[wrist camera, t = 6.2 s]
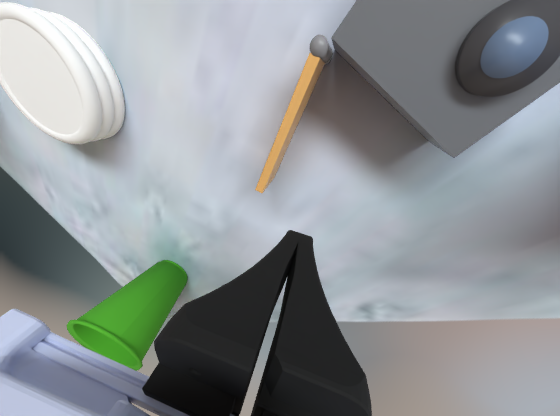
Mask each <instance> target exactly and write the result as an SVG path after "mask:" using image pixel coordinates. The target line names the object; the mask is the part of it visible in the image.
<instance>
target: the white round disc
mask: <svg viewBox="0 0 560 416" xmlns="http://www.w3.org/2000/svg"><path fill="white" fill-rule="evenodd" d="M0 84H1V86H2V87H3V89H4V90H5V92H6V93H7V95H8V96H9V98H10V99H11V100H12V102H13V103H14V104H15V105H16V106H17V108H18V109H19V110H20V111H21V112H22V113H23V114H24V115H25V116H26V117H27V118H28V119H29V120H30V121H31V122H32V123H33V124H34V125H35V126H37V127H38V128H39V129H41V130H42V131H43V132H45V133H46V134H48V135H50V136H52V137H53V138H55V139H58V140H60V141H62V142H65V143H70V144H85V143H87V142H90V141H98V140H100V139H107V138H110V137H112V136H114V135H115V134H116V133H117V132H118V131H119V130H120V129H121V127H122V125H123V122H124V116H125V103H124V96H123V92H122V88H121V85H120V82H119V79H118V77H117V74H116V72H115V70H114V68H113V66H112V64H111V62H110V61H109V59H108V57H107V56H106V54H105V53H104V51H103V50H102V49H101V47H100V46H99V45H98V43H97V42H96V41H95V40H94V39H93V38H92V37H91V36H90V35H89V34H88V33H87V32H86V31H85V30H84V29H83V28H82V27H80V26H79V25H78V24H76V23H75V22H73V21H71V20H70V19H68V18H66V17H64V16H62V15H59V14H57V13H53V12H45V11H43V10H41V9H37V8H31V7H25V6H23V5H20V4H16V3H8V2H5V3H0Z"/></svg>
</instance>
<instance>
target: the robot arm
mask: <svg viewBox="0 0 560 416" xmlns="http://www.w3.org/2000/svg"><path fill="white" fill-rule="evenodd" d="M287 276H288V277H287ZM286 278H287V282H286V287H285V292H284V297H283V302H282V307H281V312H280V317H279V321H278V324H277V328H276V331H275V335H274V338H273V342H272V345H271V348H270V352H269V355H268V359H267V362H266V366H265V369H264V372H263V376H262V380H261V383H260V386H259V390H258V393H257V396H256V400H255V403H254V407H253V410H252V413H251V416H372V411H371V400H370V394H369V389H368V384H367V379H366V375H365V373H364V372H363V370H362V368H361V367H360V365H359V363H358V362H357V360H356V358H355V357H354V355H353V353H352V352H351V350H350V348H349V346H348V344H347V342H346V341H345V339H344V337H343V335H342V333H341V331H340V329H339V327H338V325H337V323H336V320H335V318H334V316H333V314H332V312H331V310H330V307H329V305H328V302H327V300H326V297H325V294H324V291H323V289H322V285H321V282H320V279H319V275H318V271H317V267H316V262H315V257H314V251H313V238H312V237H311V236H307V235H304V234H301V233H298V232H295V231H292V230H289V231H288V232H287V233H286V235H285V236H284V237H283V239H282V240H281V241H280V242H279V243H278V244H277V245H276V246H275V247H274V248H273V249H272V250H271V251H270V252H269V253H268V254H267V255H266V256H265V257H264V258H263V259H261V260H260V261H259V262H258V263H257V264H255V265H254V266H253V267H251V268H250V269H249V270H247V271H246V272H244V273H243V274H241V275H240V276H238V277H237V278H235V279H234V280H232V281H230V282H229V283H227V284H225V285H223V286H221V287H220V288H218V289H216V290H214V291H212V292H210V293H208V294H206V295H204V296H202V297H199V298H197V299H195V300H193V301H191V302H188V303H186V304H185V305H184V306H183V307H182V308H181V309H180V310H179V311H178V312H177V313H176V314H175V315H174V316H173V317H172V318H171V319H170V321H169V322H168V323H167V324H166V326H165V327H164V328H163V330H162V331H161V333H160V334H159V335H158V337H157V338H156V340H155V341H154V346H155V351H156V354H157V357H158V360H159V364H158V365H157V367H156V368H155V370H154V371H153V373H152V374H151V376H150V377H149V376H146V375H144V374H142V373H140V372H138V371H135V370H133V369H131V368H129V367H127V366H124V365H122V364H120V363H118V362H116V361H113V360H111V359H109V358H107V357H105V356H102V355H100V354H98V353H96V352H94V351H91V350H89V349H87V348H85V347H83V346H80V345H78V344H76V343H74V342H72V341H69V340H67V339H65V338H63V337H61V336H58V335H56V334H54V333H52V332H50V329H49V327H48V326H47V325H46V324H45V323H44V322H42V321H41V320H39V319H37V318H36V317H33V316H31V315H29V314H27V313H24V312H22V311H20V310H18V309H11V310H10V311H8V312H7V313H5V314H4V315H2V316H1V317H0V416H150V415H148V414H147V413H145V412H143V411H142V410H140V409H139V408H137V407H135V406H134V405H132V403H134V404H136V405H138V406H140V407H142V408H144V409H147V410H149V411H151V412H153V413H155V414H157V415H159V416H239V414H240V412H241V409H242V406H243V403H244V399H245V396H246V393H247V390H248V387H249V384H250V380H251V377H252V374H253V371H254V368H255V364H256V361H257V358H258V355H259V352H260V349H261V346H262V343H263V339H264V336H265V333H266V330H267V327H268V323H269V321H270V318H271V315H272V312H273V310H274V307H275V305H276V302H277V300H278V298H279V295H280V293H281V290H282V288H283V286H284V283H285V281H286ZM131 402H132V403H131Z"/></svg>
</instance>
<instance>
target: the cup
mask: <svg viewBox="0 0 560 416" xmlns="http://www.w3.org/2000/svg"><path fill="white" fill-rule="evenodd" d="M186 283H187V274H186V272H185V271H184V269H183V268H182V267H180V266H179V265H178V264H176V263H174V262H172V261H169V260H163V261H161V262H158V263H156V264H155V265H154V266H152V267H151V268H149V269H148V270H146V271H145V272H144V273H142V274H141V275H139V276H138V277H137V278H135V279H134V280H132V281H131V282H129V283H128V284H127V285H125V286H124V287H122V288H121V289H120V290H118V291H117V292H115V293H114V294H112V295H111V296H110V297H108V298H107V299H105V300H104V301H103V302H101V303H100V304H98V305H97V306H95V307H94V308H93V309H91V310H90V311H88V312H87V313H86V314H84V315H83V316H81V317H80V318H78V319H77V320H70V321H69V322H68V324H67V330H68V331H69V333H70V334H71V335H72V336H73V338H74V339H75V340H77V341H78V342H79V343H80V344H81V345H82V346H84V347H85V348H87V349H89V350H91V351H94V352H96V353H98V354H100V355H102V356H105V357H107V358H109V359H111V360H113V361H116V362H118V363H120V364H122V365H124V366H127V367H129V368H131V369H133V370H135V371H136V370H139V369H140V368H141V367H142V366H143V365H142V360H143V358H144V356H145V355H146V353H147V351H148V349H149V348H150V346H151V344H152V342H153V341H154V339H155V337H156V335H157V333H158V332H159V330H160V328H161V327H162V325H163V323H164V321H165V320H166V318H167V316H168V314H169V313H170V311H171V309H172V308H173V306H174V304H175V302H176V301H177V299H178V297H179V295H180V294H181V292H182V290H183V288H184V287H185V285H186Z"/></svg>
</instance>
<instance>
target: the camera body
mask: <svg viewBox="0 0 560 416" xmlns="http://www.w3.org/2000/svg"><path fill="white" fill-rule="evenodd" d="M332 41H333V45H334V49H335V50H336V51H337V52H338V53H339V54H340V55H341V56H342V57H343V58H344V59H345V60H346V61H347V62H348V63H349V64H350V65H351V66H352V67H353V68H354V69H355V70H356V71H357V72H358V73H359V74H360V75H361V76H362V77H363V78H364V79H366V80H367V81H368V82H369V83H370V84H371V85H372V86H373V87H374V88H375V89H376V90H377V91H378V92H379V93H380V94H381V95H382V96H383V97H384V98H385V99H386V100H387V101H388V102H389V103H390V104H391V105H392V106H393V107H394V108H395V109H396V110H397V111H398V112H399V113H400V114H401V115H402V116H403V117H404V118H405V119H407V120H408V121H409V122H410V123H411V124H412V125H413V126H414V127H415V128H416V129H417V130H418V131H419V132H420V133H421V134H422V135H423V136H424V137H425V138H426V139H427V140H428V141H429V142H431V143H432V144H434V145H435V146H437V147H438V148H440V149H441V150H443V151H444V152H446V153H447V154H449V155H450V156H452V157H453V158H455V157H456V156H457V155H459V154H460V153H462V152H463V151H464V150H466V149H467V148H469V147H470V146H471V145H473V144H474V143H476V142H477V141H478V140H480V139H481V138H483V137H484V136H485V135H487V134H488V133H490V132H491V131H492V130H494V129H495V128H497V127H498V126H499V125H501V124H502V123H504V122H505V121H506V120H508V119H509V118H511V117H512V116H513V115H515V114H516V113H518V112H519V111H520V110H522V109H523V108H525V107H526V106H527V105H529V104H530V103H532V102H533V101H534V100H536V99H537V98H539V97H540V96H541V95H543V94H544V93H546V92H547V91H548V90H550V89H551V88H553V87H554V86H555V85H557V84H558V83H560V0H357V1H356V2H355V4H354V5H353V7H352V8H351V10H350V11H349V13H348V14H347V16H346V17H345V18H344V20H343V21H342V23H341V24H340V26H339V27H338V29H337V30H336V32H335V33H334V35H333V36H332ZM329 47H330V46H329ZM330 49H331V47H330ZM332 55H333V53H332V49H331V57H330V59H329V60H328V61H327V62H325V64H327V63H329V62H330V61H331V59H332ZM325 64H324V65H325Z"/></svg>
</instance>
